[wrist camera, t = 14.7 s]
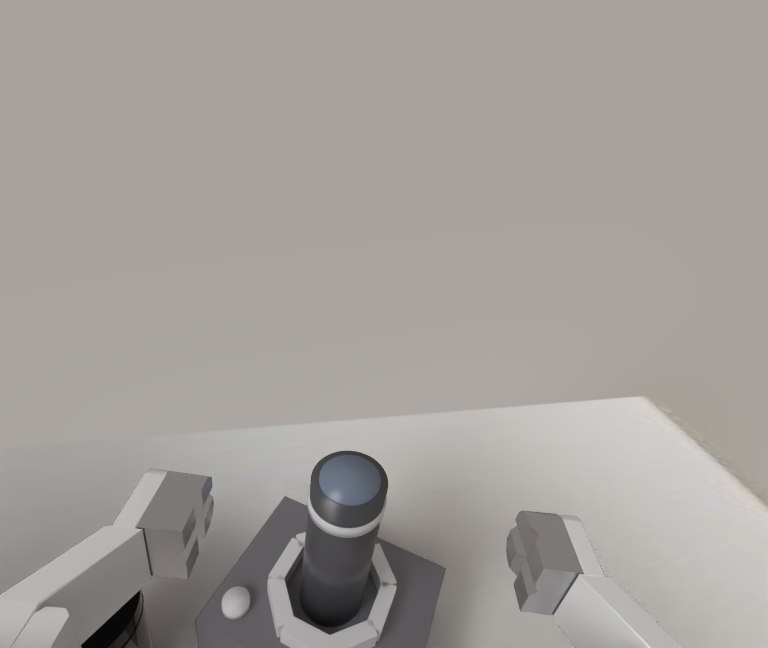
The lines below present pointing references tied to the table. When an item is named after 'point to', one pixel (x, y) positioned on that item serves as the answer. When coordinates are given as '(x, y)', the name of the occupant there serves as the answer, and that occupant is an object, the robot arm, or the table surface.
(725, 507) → the table surface
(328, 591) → the lens
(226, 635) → the camera body
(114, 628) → the supplement container
